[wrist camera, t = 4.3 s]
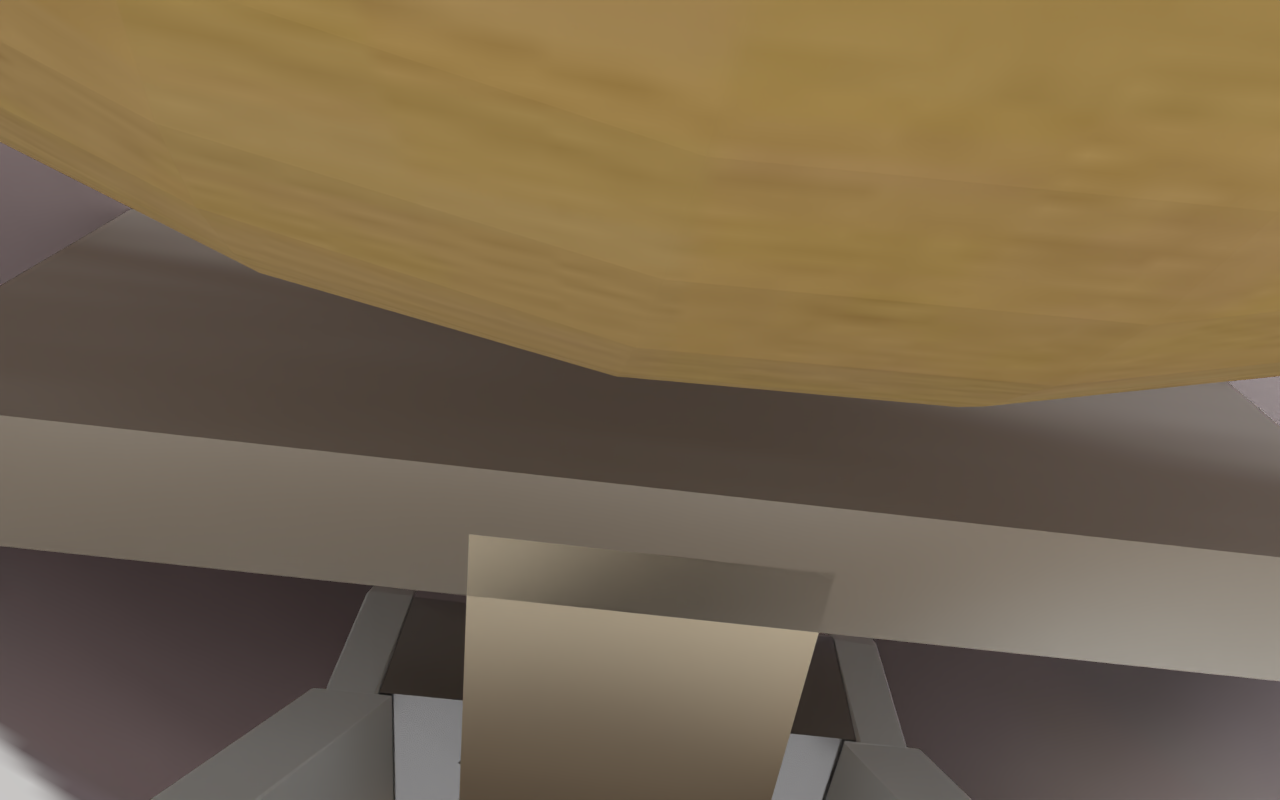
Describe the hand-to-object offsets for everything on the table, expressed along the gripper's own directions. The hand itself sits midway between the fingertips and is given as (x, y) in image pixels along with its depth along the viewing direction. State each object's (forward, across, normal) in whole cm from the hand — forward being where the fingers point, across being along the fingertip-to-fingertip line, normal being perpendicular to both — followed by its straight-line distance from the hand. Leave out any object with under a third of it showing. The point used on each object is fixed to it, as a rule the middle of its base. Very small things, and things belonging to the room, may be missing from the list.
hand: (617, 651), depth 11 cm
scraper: (+2, 0, 0) cm, 2 cm away
